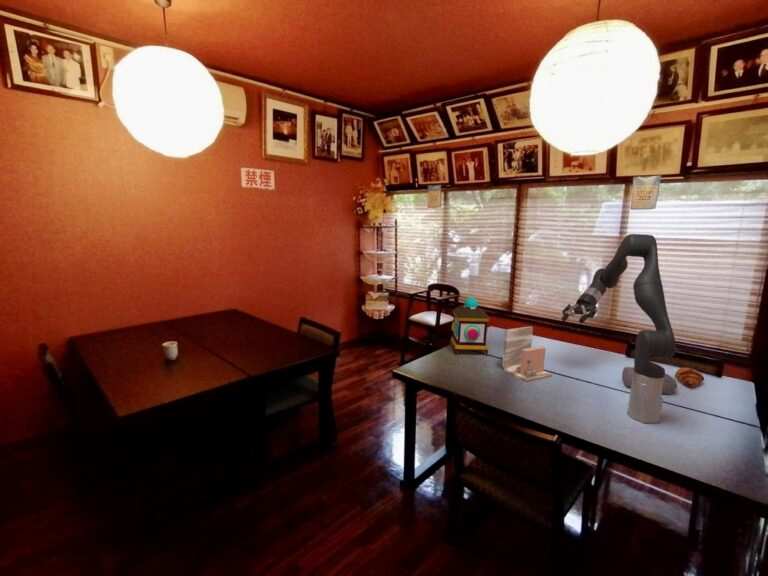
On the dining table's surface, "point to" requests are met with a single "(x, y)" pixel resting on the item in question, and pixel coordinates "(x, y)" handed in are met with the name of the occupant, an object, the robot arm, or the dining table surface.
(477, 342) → the decorative lantern
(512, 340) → the wooden bookend stand
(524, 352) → the door
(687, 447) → the dining table surface
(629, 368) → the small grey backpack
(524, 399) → the dining table surface
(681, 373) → the croissant
